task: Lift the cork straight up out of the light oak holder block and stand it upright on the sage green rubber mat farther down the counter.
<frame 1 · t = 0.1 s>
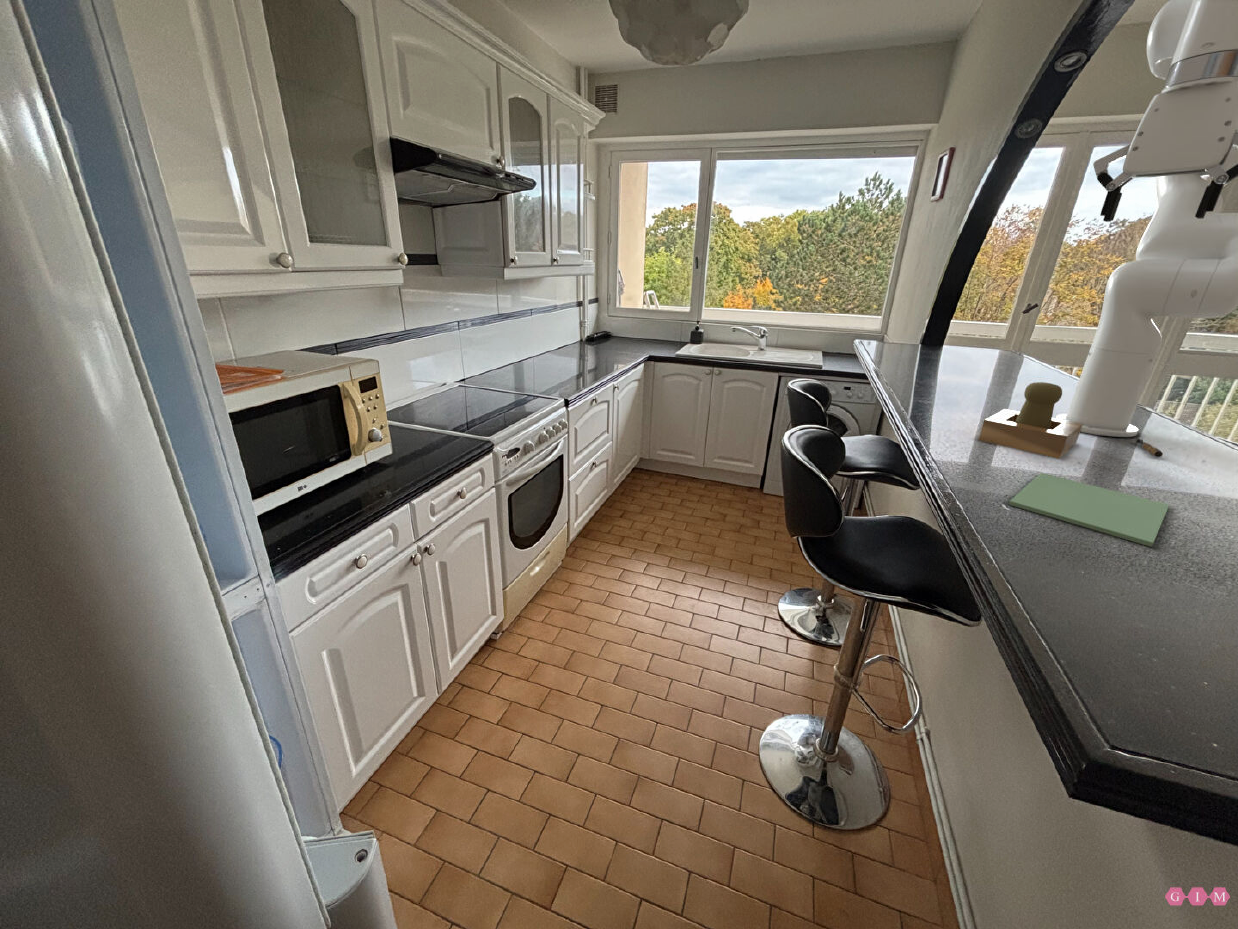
hand: (1151, 219, 74), 37 cm above the countertop, tool pointing down, fingers open, 9 cm apart
cork: (1026, 443, 93), resting in holder
mat: (1087, 506, 68), on the countertop
holder: (1026, 442, 93), on the countertop
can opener: (1148, 451, 90), on the countertop
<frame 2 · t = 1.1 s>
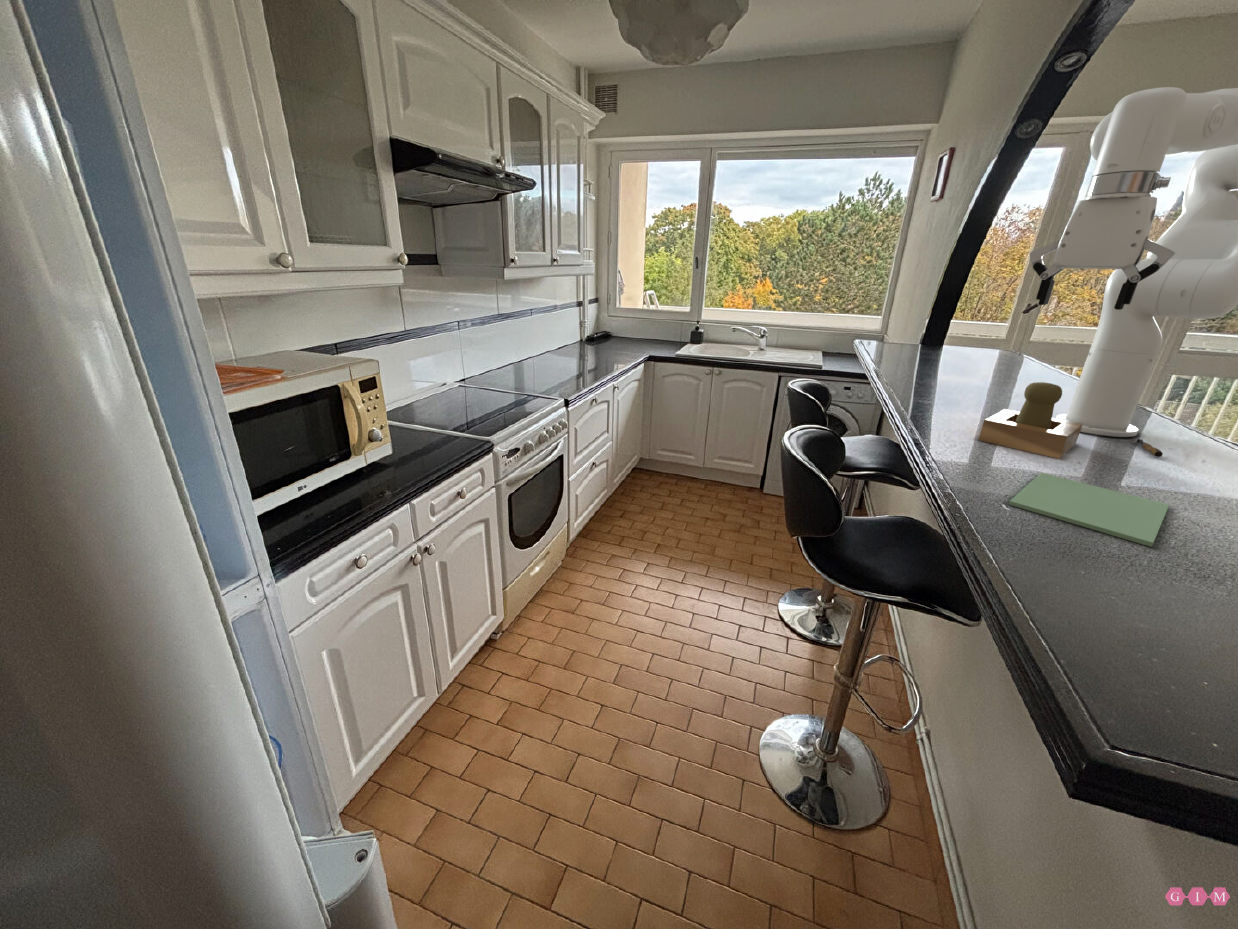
hand: (1078, 306, 83), 24 cm above the countertop, tool pointing down, fingers open, 9 cm apart
nothing on the countertop moved.
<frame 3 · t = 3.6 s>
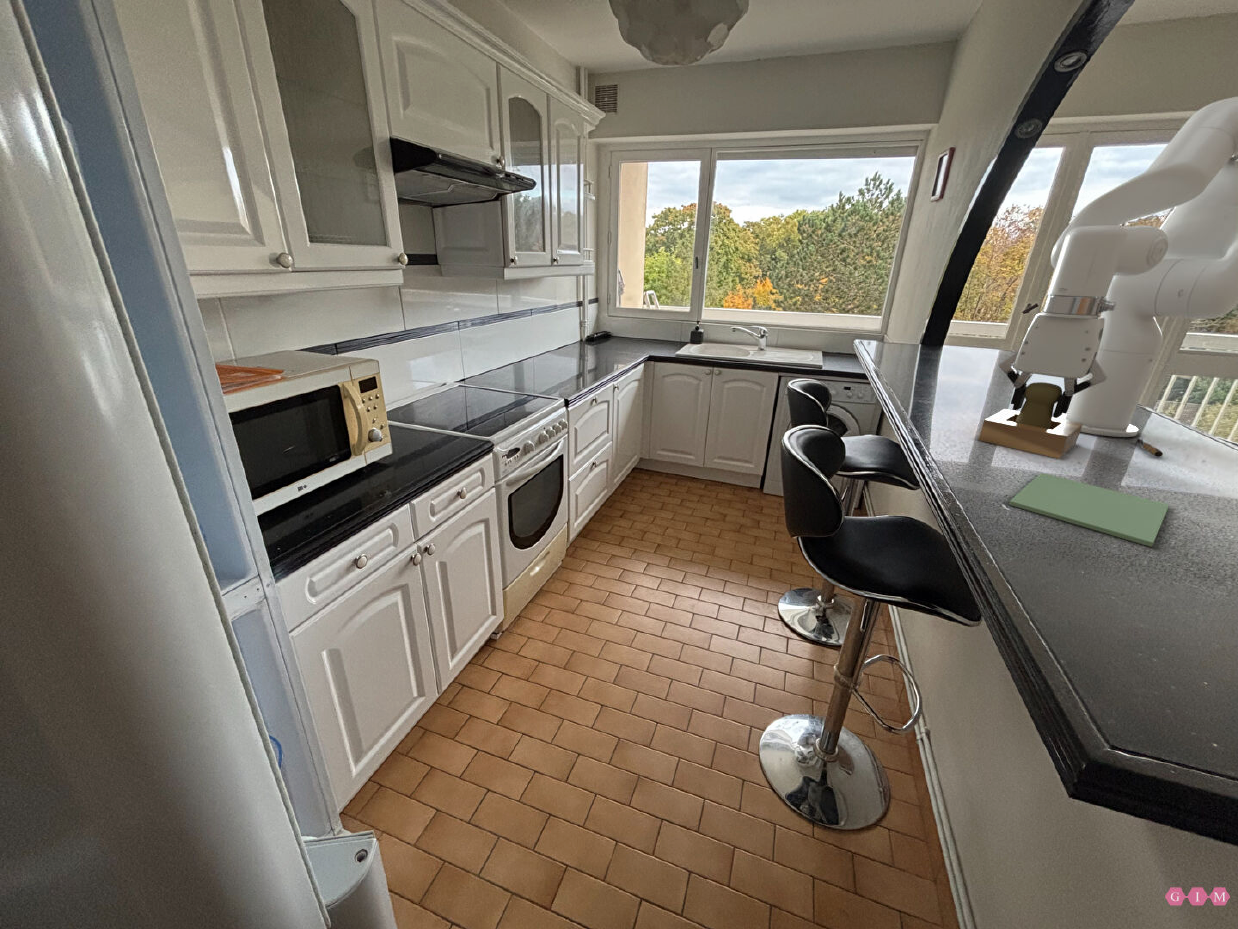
hand: (1036, 411, 91), 6 cm above the countertop, tool pointing down, fingers closed on cork, 5 cm apart
cork: (1026, 443, 93), resting in holder, touching gripper
everything else where it was.
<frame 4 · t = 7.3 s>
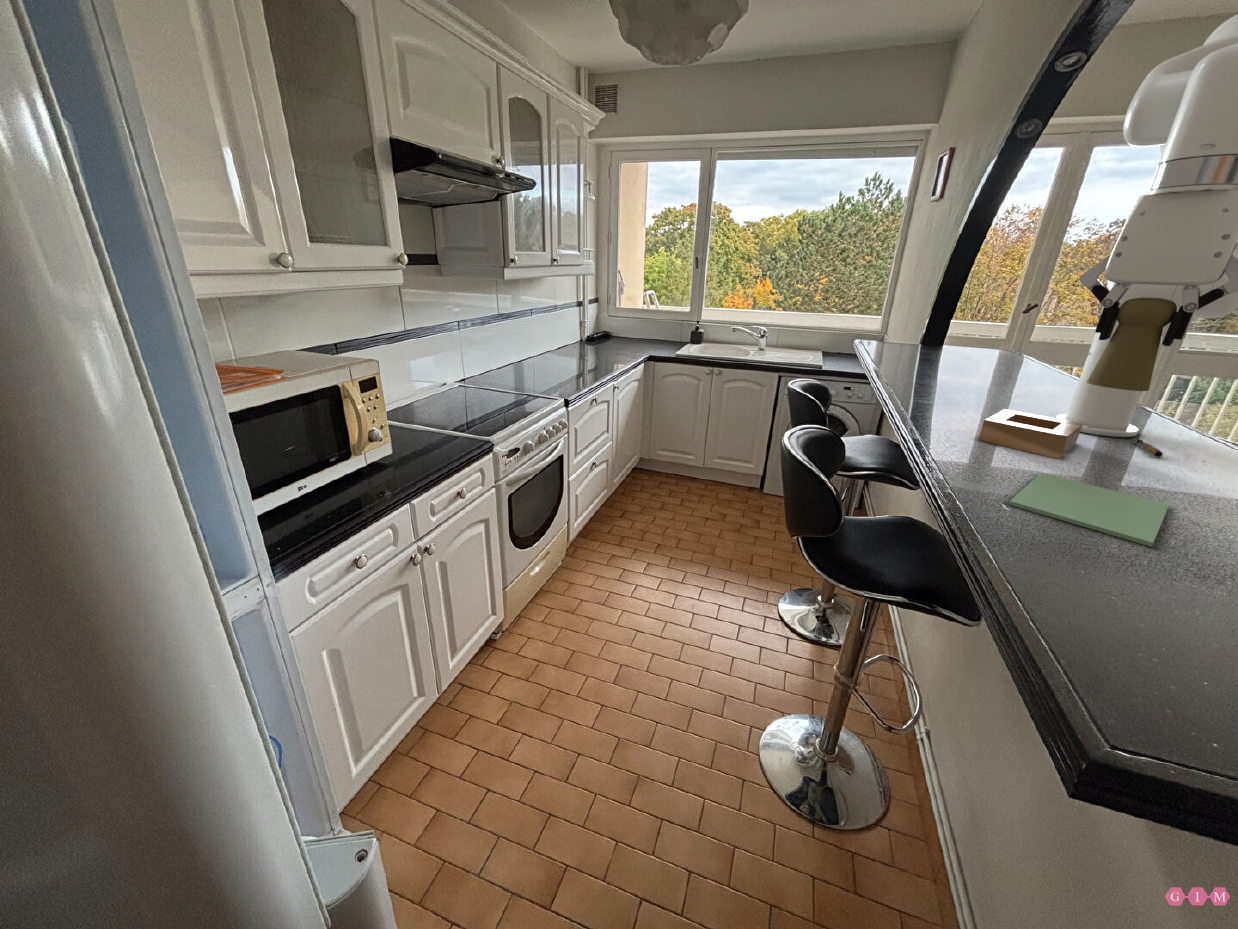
hand: (1134, 340, 64), 21 cm above the countertop, tool pointing down, fingers closed on cork, 5 cm apart
cork: (1116, 387, 66), point 15 cm above the countertop, touching gripper
everything else where it was.
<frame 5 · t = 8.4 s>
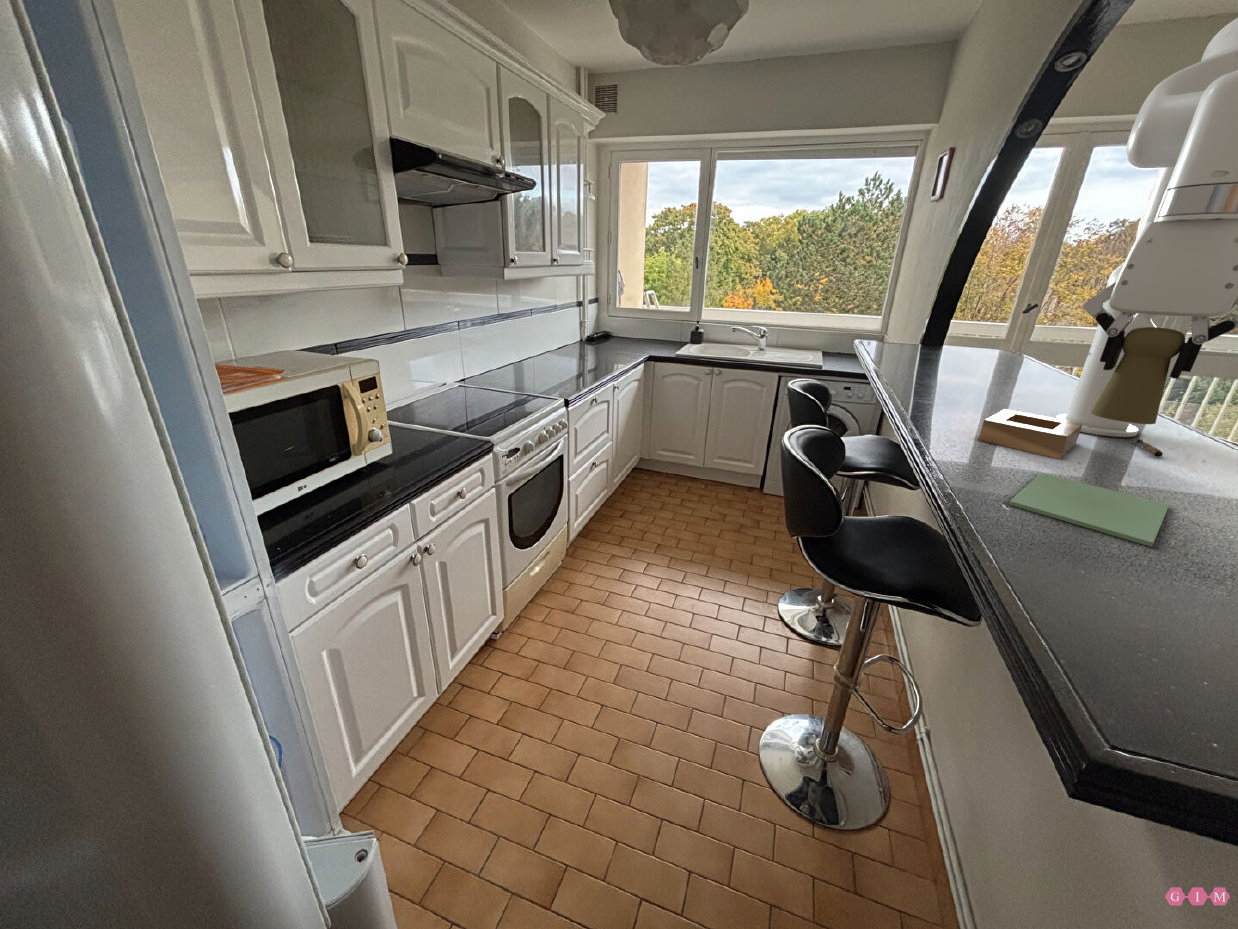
hand: (1141, 371, 62), 18 cm above the countertop, tool pointing down, fingers closed on cork, 5 cm apart
cork: (1121, 419, 64), point 12 cm above the countertop, touching gripper
everything else where it was.
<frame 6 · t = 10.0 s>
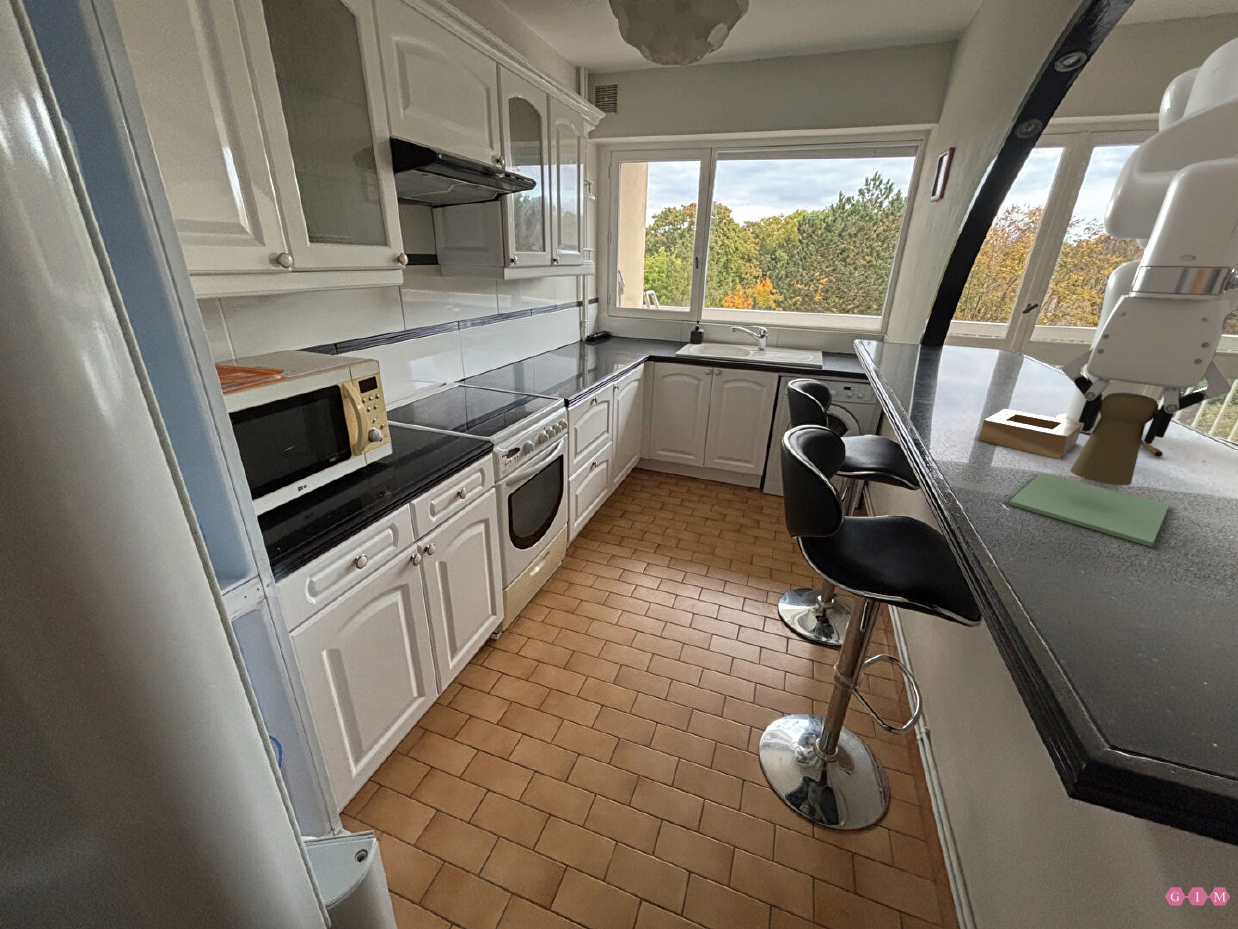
hand: (1117, 433, 64), 10 cm above the countertop, tool pointing down, fingers closed on cork, 5 cm apart
cork: (1099, 478, 66), point 4 cm above the countertop, touching gripper
everything else where it was.
when the fingers open (7 cm above the countertop, at t = 11.4 s): cork stays where it is, resting on mat.
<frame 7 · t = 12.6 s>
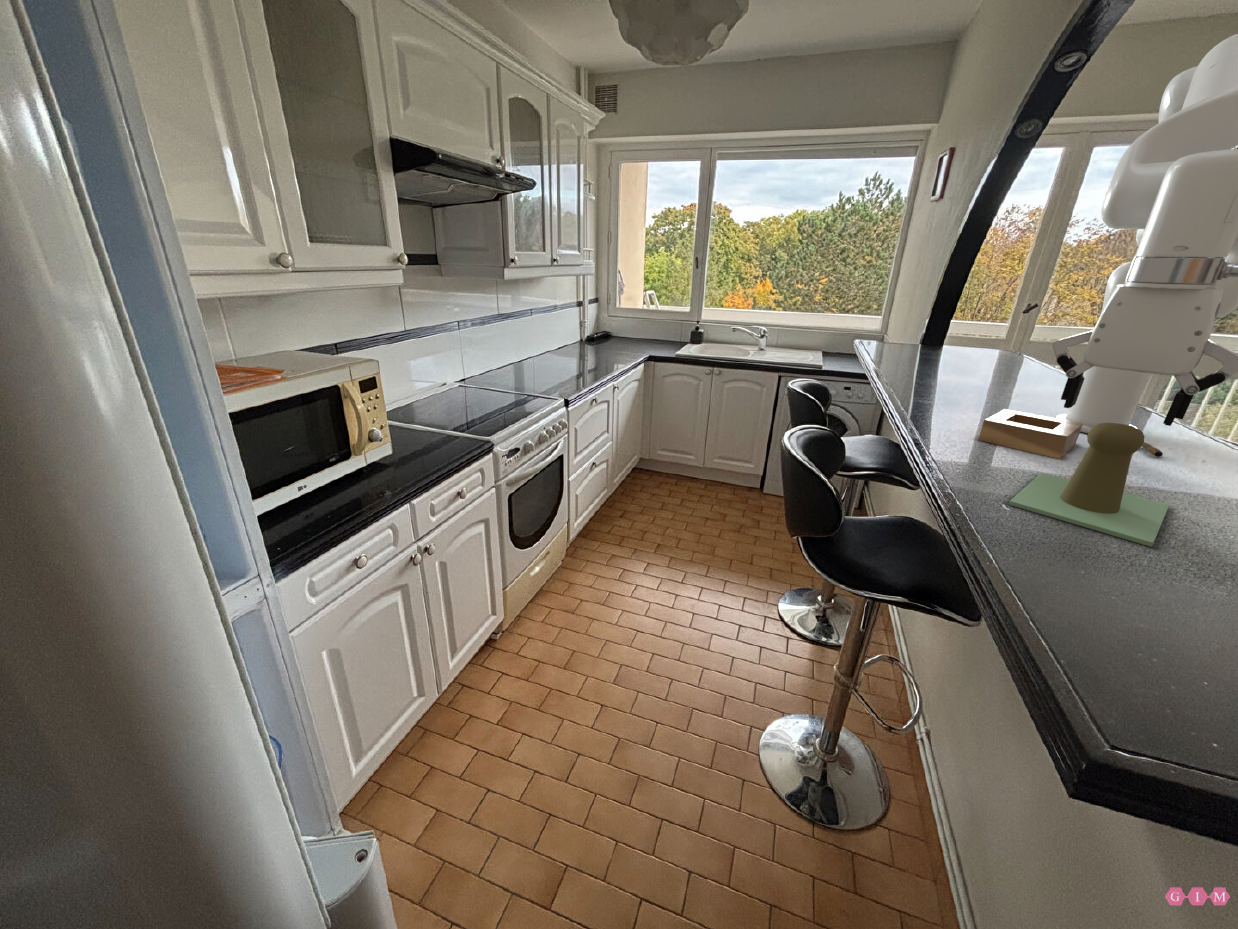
hand: (1116, 414, 66), 12 cm above the countertop, tool pointing down, fingers open, 9 cm apart
cork: (1088, 504, 68), resting on mat
everything else where it was.
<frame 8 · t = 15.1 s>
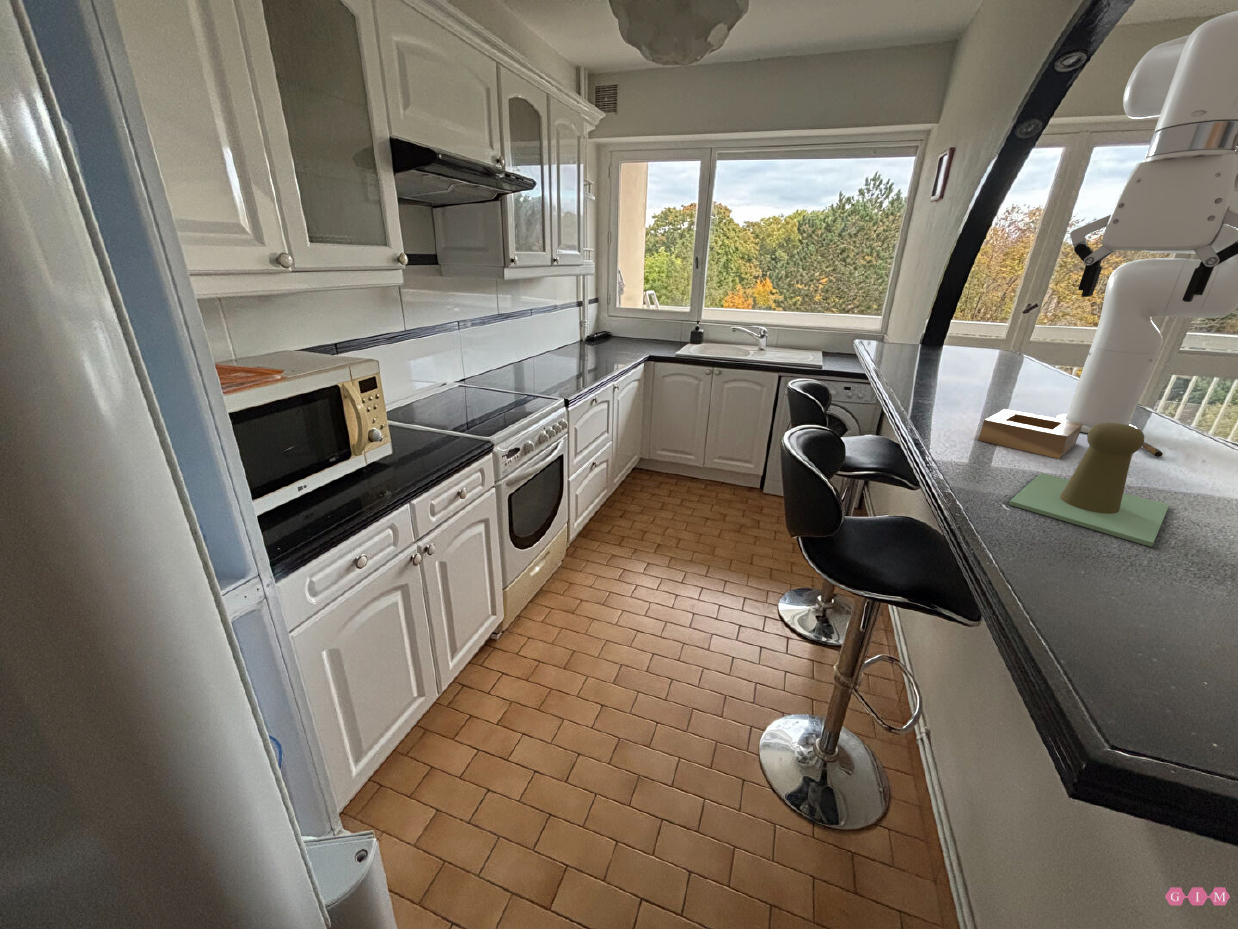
hand: (1134, 298, 66), 26 cm above the countertop, tool pointing down, fingers open, 9 cm apart
nothing on the countertop moved.
at the end: cork inside the target area on the mat (0.4 cm from its centre), point 0.4 cm above the mat's base; cork tilted 0°; the gripper is holding nothing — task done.
